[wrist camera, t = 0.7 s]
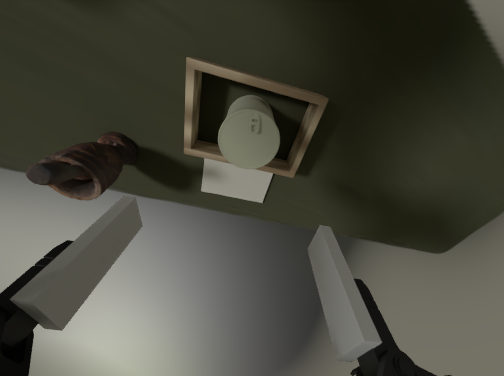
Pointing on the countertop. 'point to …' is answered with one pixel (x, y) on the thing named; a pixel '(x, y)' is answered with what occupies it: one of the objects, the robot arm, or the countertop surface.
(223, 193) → the mat
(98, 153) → the mortar and pestle
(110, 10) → the countertop surface
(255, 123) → the can
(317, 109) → the wooden frame
